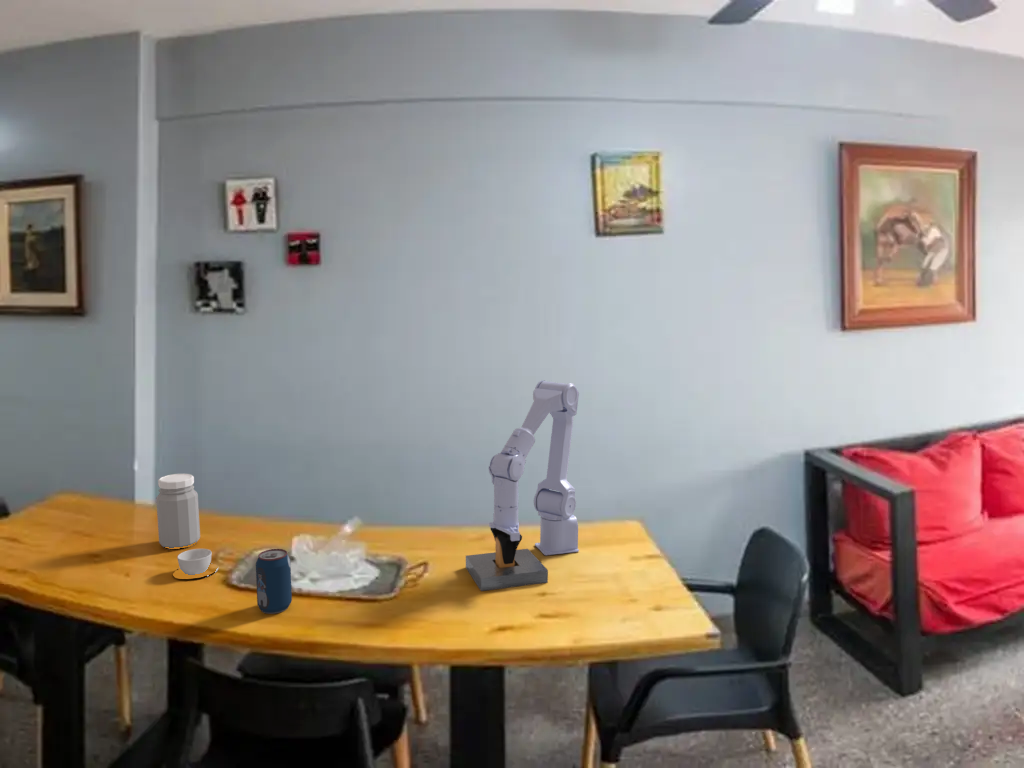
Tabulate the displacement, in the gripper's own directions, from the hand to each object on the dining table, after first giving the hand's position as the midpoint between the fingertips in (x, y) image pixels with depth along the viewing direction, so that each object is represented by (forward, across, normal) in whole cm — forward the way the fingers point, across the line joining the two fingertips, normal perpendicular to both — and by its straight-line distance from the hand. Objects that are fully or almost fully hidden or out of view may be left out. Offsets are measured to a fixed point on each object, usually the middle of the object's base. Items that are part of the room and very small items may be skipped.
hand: (505, 559), depth 167 cm
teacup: (+4, -23, -70) cm, 74 cm away
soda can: (+4, +2, -52) cm, 52 cm away
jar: (+4, -44, -76) cm, 88 cm away
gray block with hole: (+4, 0, 0) cm, 4 cm away
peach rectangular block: (+2, 0, 0) cm, 2 cm away
